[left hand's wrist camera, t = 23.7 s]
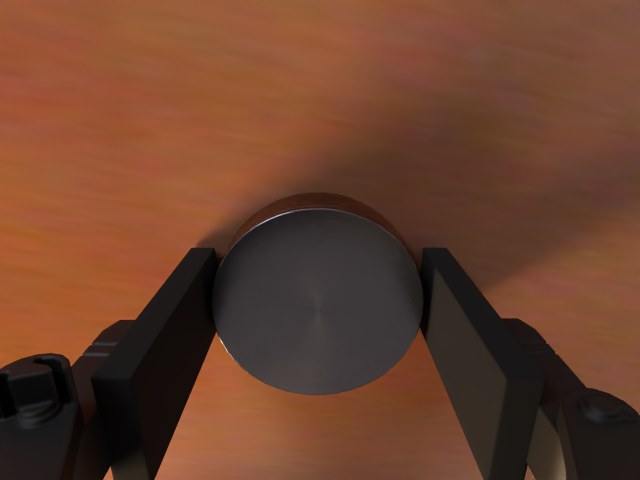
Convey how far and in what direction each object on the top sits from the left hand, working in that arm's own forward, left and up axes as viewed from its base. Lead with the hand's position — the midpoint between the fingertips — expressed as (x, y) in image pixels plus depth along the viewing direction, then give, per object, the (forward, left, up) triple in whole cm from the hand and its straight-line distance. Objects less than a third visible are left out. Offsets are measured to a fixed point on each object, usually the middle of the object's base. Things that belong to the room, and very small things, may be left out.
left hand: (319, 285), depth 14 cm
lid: (0, 0, +1) cm, 1 cm away
